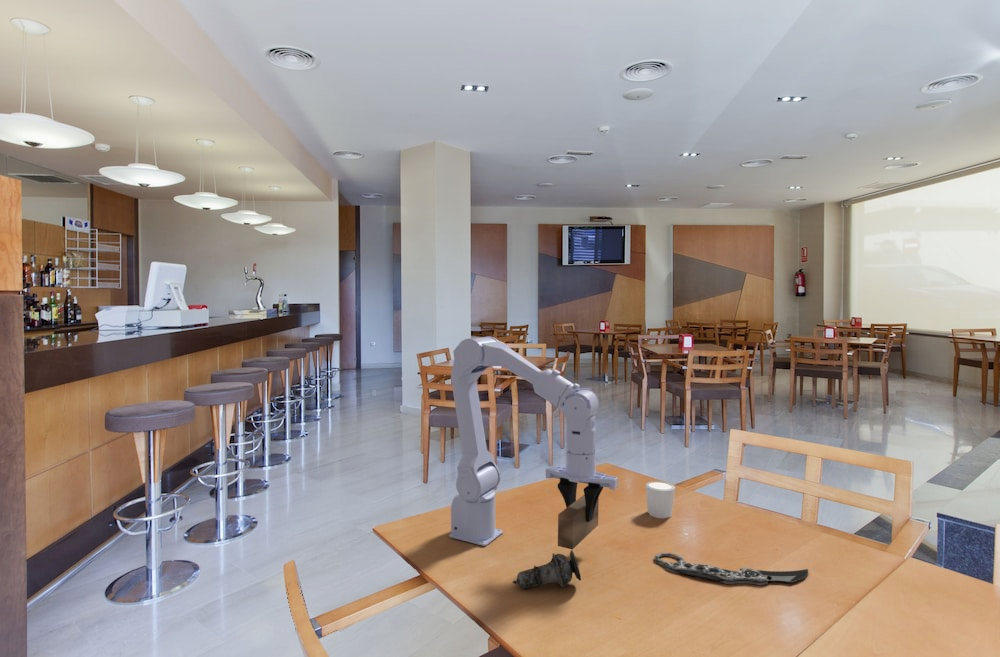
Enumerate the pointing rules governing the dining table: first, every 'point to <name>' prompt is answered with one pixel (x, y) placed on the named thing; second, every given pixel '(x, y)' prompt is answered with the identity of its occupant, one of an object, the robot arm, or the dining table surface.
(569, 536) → the dark wooden brick
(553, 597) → the dining table surface
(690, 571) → the knife
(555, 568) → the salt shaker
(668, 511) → the white cylinder
